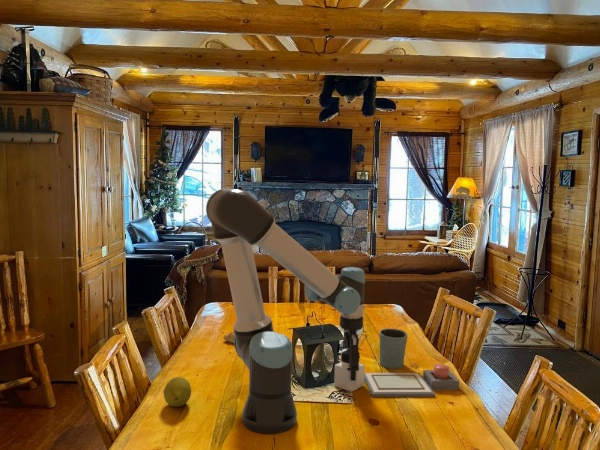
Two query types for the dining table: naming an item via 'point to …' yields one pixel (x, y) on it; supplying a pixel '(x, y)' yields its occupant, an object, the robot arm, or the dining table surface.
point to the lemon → (177, 391)
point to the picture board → (397, 385)
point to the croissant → (229, 337)
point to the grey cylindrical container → (392, 348)
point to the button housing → (441, 381)
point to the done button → (441, 371)
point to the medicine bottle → (342, 372)
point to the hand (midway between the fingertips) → (349, 382)
